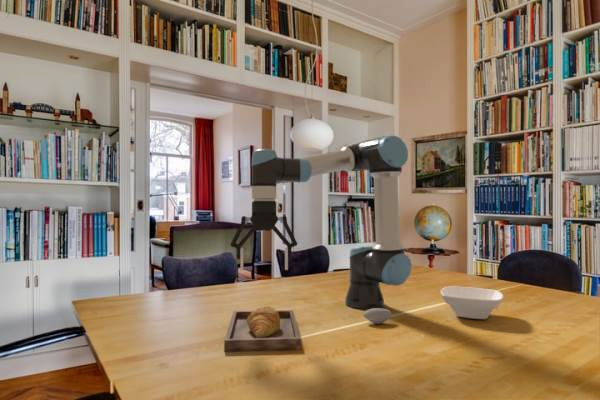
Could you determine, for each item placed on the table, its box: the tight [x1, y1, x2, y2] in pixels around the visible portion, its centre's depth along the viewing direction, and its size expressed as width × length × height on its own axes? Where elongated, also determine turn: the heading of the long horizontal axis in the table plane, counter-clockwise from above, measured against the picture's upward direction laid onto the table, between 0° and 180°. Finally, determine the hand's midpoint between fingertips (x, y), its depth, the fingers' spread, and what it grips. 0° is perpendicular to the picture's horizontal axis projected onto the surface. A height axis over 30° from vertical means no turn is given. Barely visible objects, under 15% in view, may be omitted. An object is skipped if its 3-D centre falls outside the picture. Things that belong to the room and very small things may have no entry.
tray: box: [223, 309, 302, 353], centre depth 120 cm, size 20×29×3 cm
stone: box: [362, 307, 392, 325], centre depth 132 cm, size 10×5×5 cm, turn 99°
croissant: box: [247, 306, 280, 338], centre depth 120 cm, size 21×10×8 cm, turn 179°
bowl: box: [440, 285, 504, 320], centre depth 141 cm, size 21×21×9 cm
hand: (264, 269), depth 121 cm, fingers open, 13 cm apart
